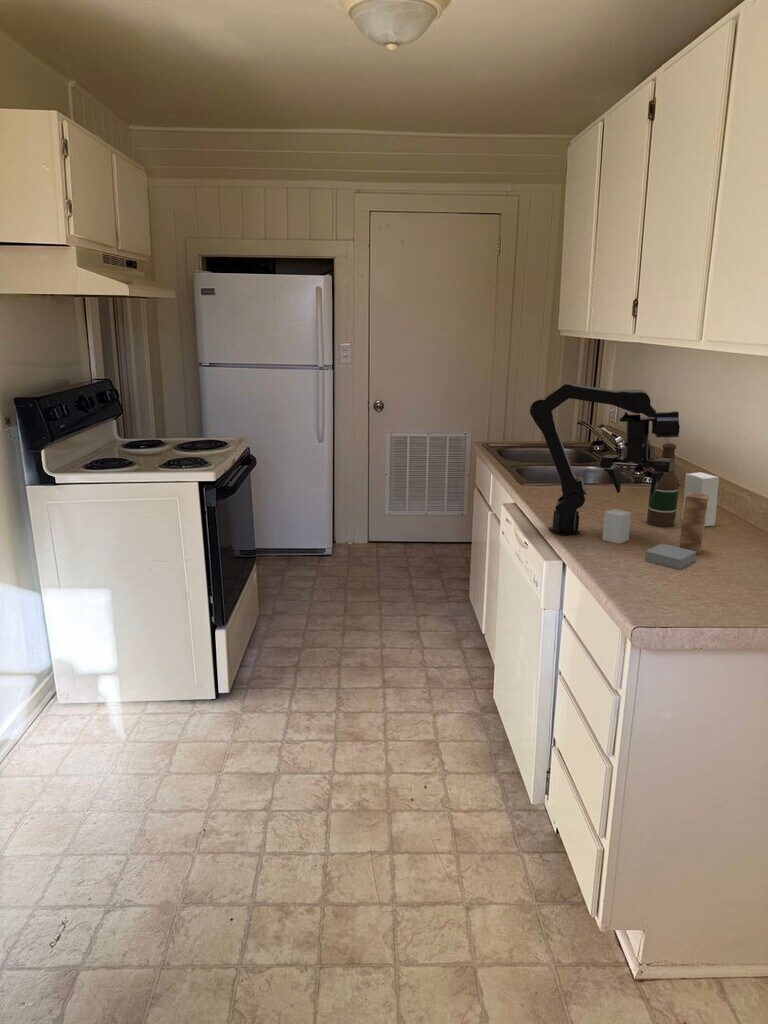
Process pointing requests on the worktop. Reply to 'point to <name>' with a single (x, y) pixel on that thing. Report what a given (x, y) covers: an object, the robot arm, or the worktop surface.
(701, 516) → the walnut post
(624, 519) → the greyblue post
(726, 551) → the worktop surface
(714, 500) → the skincare box
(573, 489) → the robot arm
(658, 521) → the beer bottle
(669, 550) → the greyblue square slab
